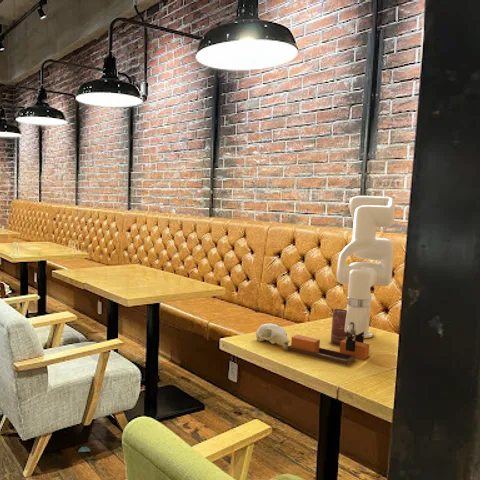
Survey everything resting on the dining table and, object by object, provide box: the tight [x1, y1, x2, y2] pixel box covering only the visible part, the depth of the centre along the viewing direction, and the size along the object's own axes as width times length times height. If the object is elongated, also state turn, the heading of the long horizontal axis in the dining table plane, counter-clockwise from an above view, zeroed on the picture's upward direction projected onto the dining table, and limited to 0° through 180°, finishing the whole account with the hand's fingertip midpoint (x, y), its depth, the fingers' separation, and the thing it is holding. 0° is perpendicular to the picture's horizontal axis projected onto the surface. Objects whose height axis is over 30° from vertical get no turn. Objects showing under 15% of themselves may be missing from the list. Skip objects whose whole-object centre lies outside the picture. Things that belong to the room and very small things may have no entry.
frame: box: [286, 344, 356, 366], centre depth 179 cm, size 8×22×2 cm, turn 51°
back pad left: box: [290, 334, 321, 353], centre depth 182 cm, size 5×9×5 cm, turn 51°
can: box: [330, 308, 347, 347], centre depth 193 cm, size 6×6×14 cm
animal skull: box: [255, 322, 291, 350], centre depth 190 cm, size 10×16×10 cm, turn 16°
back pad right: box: [339, 339, 370, 360], centre depth 180 cm, size 5×9×5 cm, turn 51°
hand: (354, 348), depth 180 cm, fingers open, 9 cm apart
